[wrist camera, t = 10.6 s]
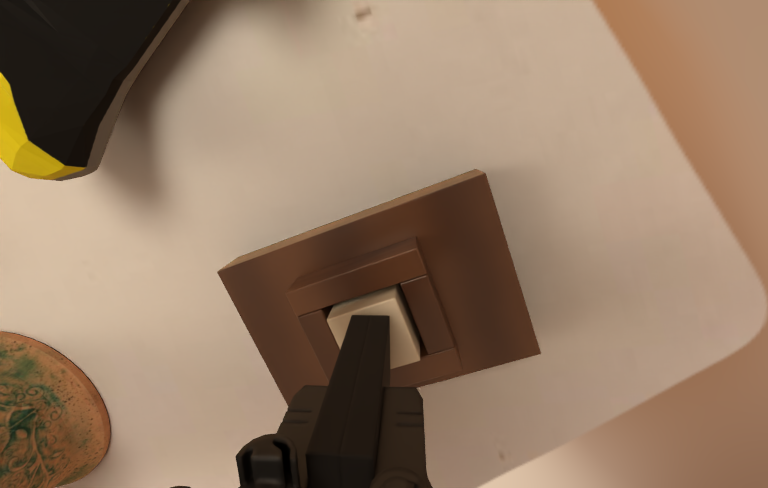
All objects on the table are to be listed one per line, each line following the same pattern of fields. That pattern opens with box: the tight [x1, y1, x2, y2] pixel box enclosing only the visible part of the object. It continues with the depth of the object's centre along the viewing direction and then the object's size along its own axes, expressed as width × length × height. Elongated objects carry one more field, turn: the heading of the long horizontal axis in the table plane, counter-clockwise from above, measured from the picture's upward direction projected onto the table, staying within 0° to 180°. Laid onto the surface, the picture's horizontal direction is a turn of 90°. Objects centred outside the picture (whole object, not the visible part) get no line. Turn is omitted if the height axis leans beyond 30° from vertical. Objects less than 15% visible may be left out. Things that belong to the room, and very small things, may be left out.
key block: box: [217, 169, 541, 407], centre depth 17 cm, size 13×9×4 cm
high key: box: [327, 283, 420, 369], centre depth 16 cm, size 3×3×2 cm
